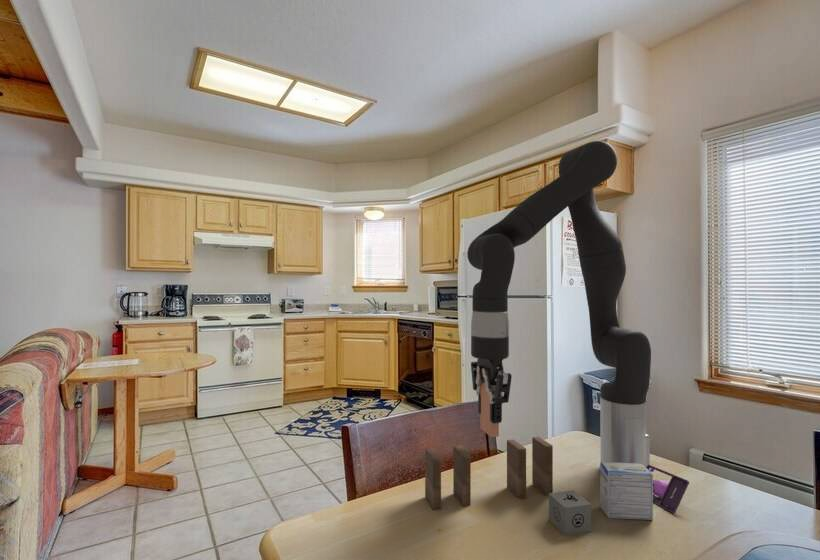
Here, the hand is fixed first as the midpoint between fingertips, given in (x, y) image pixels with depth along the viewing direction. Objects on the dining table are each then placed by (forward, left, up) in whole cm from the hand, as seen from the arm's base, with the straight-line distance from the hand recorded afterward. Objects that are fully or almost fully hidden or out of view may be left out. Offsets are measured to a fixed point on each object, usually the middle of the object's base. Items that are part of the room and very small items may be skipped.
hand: (489, 417), depth 83 cm
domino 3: (0, 0, -3) cm, 3 cm away
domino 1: (+12, 0, -16) cm, 20 cm away
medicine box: (-22, +12, -16) cm, 30 cm away
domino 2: (+6, 0, -16) cm, 17 cm away
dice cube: (-9, +13, -16) cm, 23 cm away
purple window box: (-34, +14, -14) cm, 40 cm away
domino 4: (-6, 0, -16) cm, 17 cm away
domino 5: (-12, 0, -16) cm, 20 cm away
